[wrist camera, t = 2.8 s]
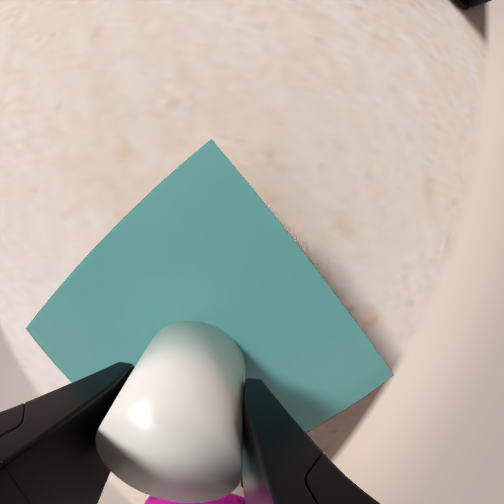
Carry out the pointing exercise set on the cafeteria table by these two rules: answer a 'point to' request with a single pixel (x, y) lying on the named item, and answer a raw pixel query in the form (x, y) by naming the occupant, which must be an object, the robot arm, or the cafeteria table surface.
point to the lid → (202, 331)
